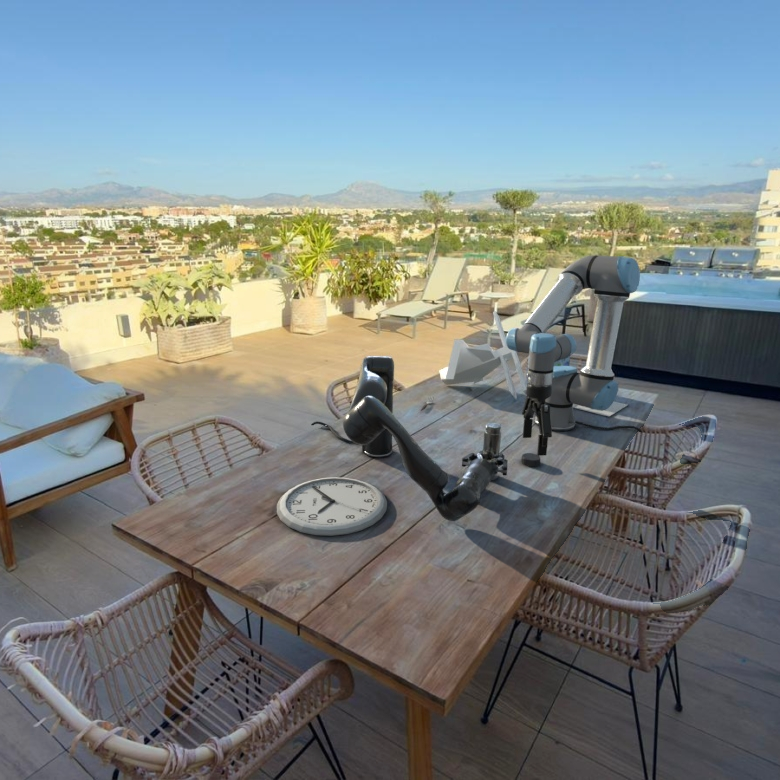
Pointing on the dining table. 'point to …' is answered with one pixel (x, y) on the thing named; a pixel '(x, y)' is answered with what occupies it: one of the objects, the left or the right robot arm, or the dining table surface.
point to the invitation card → (608, 412)
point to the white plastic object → (481, 362)
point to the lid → (530, 460)
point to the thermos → (491, 442)
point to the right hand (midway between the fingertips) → (533, 446)
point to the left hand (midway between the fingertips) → (492, 454)
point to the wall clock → (331, 506)
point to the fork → (427, 403)
